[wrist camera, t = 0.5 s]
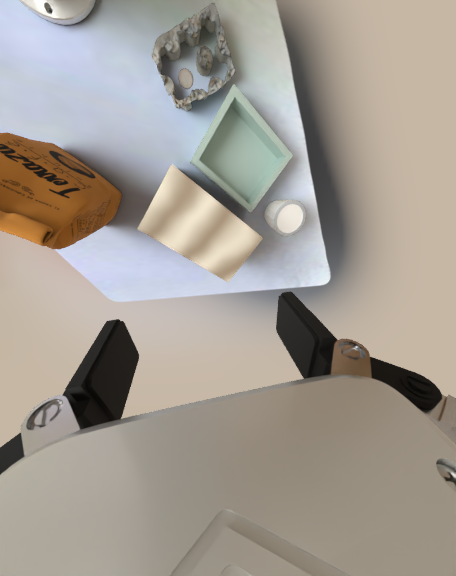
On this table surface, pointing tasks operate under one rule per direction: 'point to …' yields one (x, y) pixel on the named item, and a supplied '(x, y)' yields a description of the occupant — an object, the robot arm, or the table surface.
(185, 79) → the egg carton
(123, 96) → the table surface
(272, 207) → the shot glass
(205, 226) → the beige wooden block
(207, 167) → the tray
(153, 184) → the table surface
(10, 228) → the coffee package
